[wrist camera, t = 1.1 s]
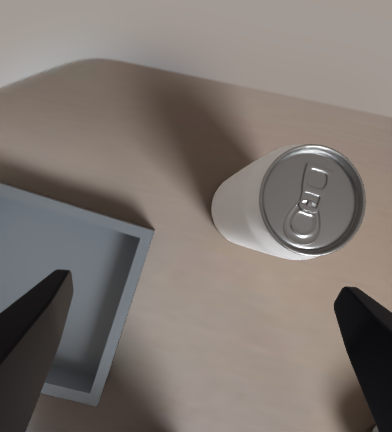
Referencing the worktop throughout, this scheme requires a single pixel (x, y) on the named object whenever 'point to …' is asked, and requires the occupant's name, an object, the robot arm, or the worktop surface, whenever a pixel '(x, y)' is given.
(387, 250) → the worktop surface
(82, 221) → the tray
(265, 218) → the can
